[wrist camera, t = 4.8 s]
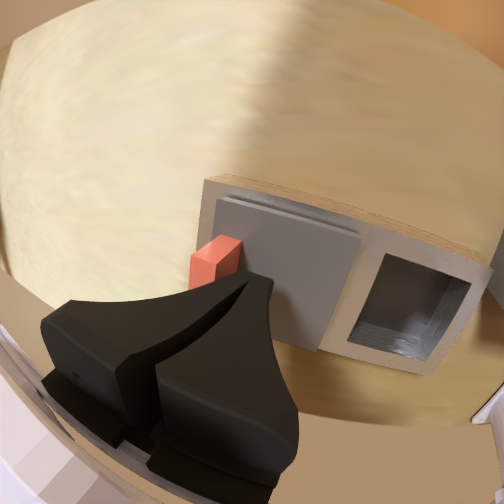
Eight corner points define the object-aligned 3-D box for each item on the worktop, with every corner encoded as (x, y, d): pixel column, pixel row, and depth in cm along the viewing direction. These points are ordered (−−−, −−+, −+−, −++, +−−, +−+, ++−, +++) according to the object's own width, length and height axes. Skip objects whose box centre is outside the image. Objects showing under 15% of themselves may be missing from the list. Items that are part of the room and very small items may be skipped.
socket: (475, 252, 11) (493, 270, 9) (423, 350, 14) (429, 376, 12) (225, 173, 14) (204, 179, 12) (210, 285, 17) (191, 304, 15)
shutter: (360, 234, 10) (365, 265, 8) (317, 344, 13) (307, 390, 10) (222, 196, 12) (184, 212, 9) (208, 307, 14) (178, 342, 11)
